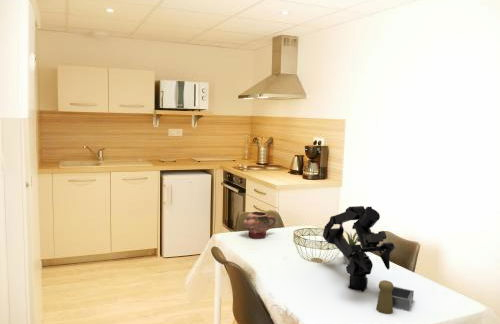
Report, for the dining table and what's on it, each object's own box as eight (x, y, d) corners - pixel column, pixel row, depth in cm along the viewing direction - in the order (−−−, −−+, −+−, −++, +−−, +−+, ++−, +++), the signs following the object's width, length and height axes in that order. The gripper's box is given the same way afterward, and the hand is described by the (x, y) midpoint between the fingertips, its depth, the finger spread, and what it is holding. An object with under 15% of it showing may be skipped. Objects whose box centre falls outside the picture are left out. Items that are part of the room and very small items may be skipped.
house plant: (364, 259, 207) (366, 227, 205) (369, 269, 193) (371, 235, 191) (335, 257, 208) (337, 226, 206) (338, 267, 195) (340, 234, 193)
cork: (389, 306, 156) (391, 278, 155) (395, 314, 150) (397, 285, 149) (373, 306, 156) (375, 278, 155) (379, 314, 150) (381, 285, 149)
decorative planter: (269, 231, 251) (270, 209, 249) (279, 237, 240) (280, 214, 238) (239, 235, 242) (240, 212, 241) (248, 241, 231) (249, 217, 230)
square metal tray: (381, 304, 158) (381, 294, 157) (386, 294, 166) (387, 285, 166) (409, 311, 153) (409, 300, 152) (413, 300, 161) (413, 290, 161)
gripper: (351, 224, 158) (365, 262, 149) (393, 222, 163) (409, 259, 154) (340, 238, 167) (352, 275, 157) (381, 236, 172) (395, 271, 162)
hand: (378, 270), depth 158 cm, fingers open, 9 cm apart
